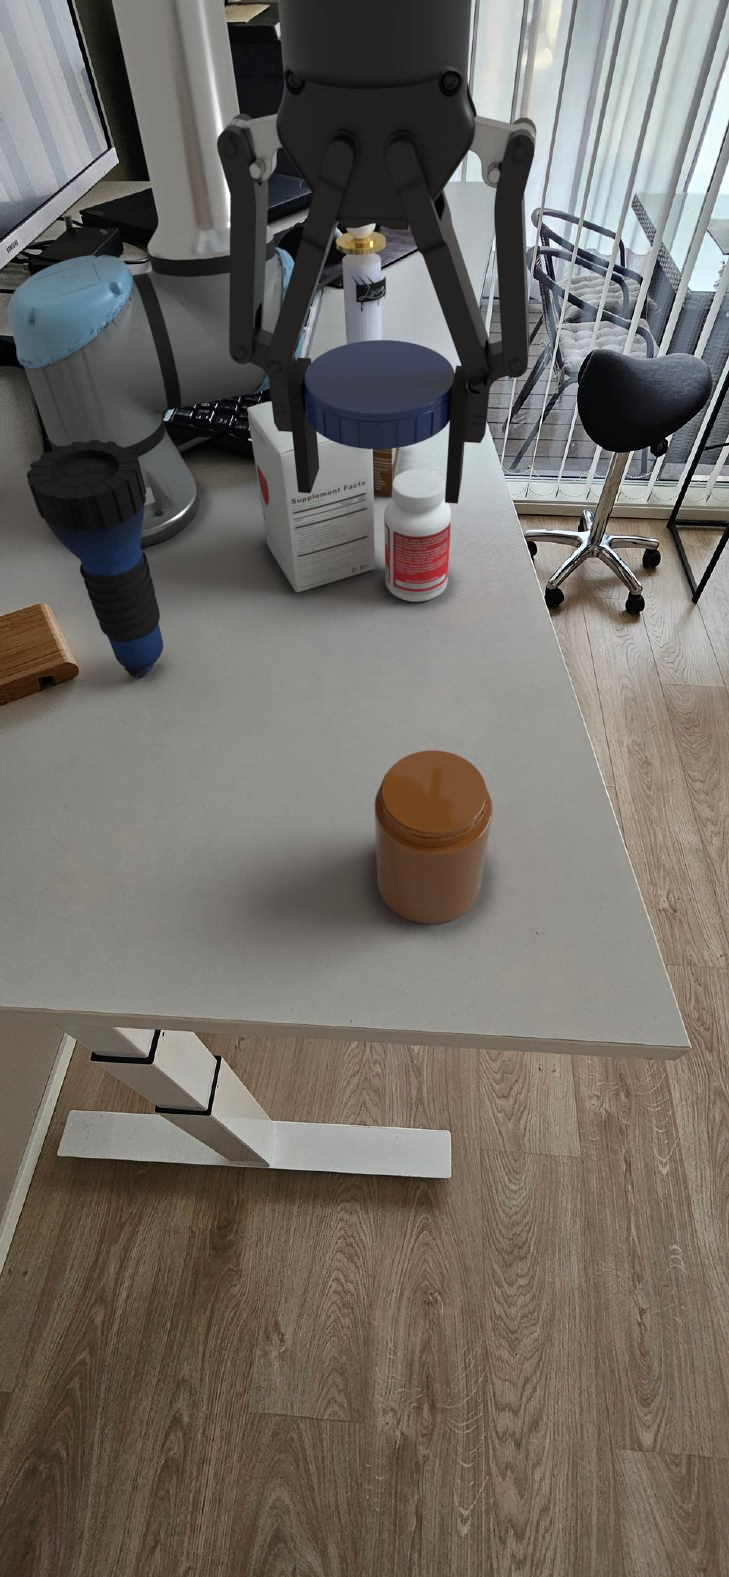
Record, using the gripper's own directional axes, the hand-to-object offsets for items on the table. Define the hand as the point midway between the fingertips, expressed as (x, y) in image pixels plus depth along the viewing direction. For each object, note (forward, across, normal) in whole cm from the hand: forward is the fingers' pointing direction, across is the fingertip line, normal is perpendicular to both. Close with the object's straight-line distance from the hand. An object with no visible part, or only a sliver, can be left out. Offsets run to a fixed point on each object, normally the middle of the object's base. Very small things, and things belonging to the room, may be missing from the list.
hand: (380, 484), depth 48 cm
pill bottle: (+25, 0, -22) cm, 33 cm away
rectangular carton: (+25, +10, -25) cm, 37 cm away
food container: (+25, +8, -41) cm, 49 cm away
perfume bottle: (+25, +12, -63) cm, 69 cm away
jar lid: (-6, 0, 0) cm, 6 cm away
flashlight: (+25, +23, -7) cm, 34 cm away
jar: (+24, -5, +12) cm, 27 cm away
